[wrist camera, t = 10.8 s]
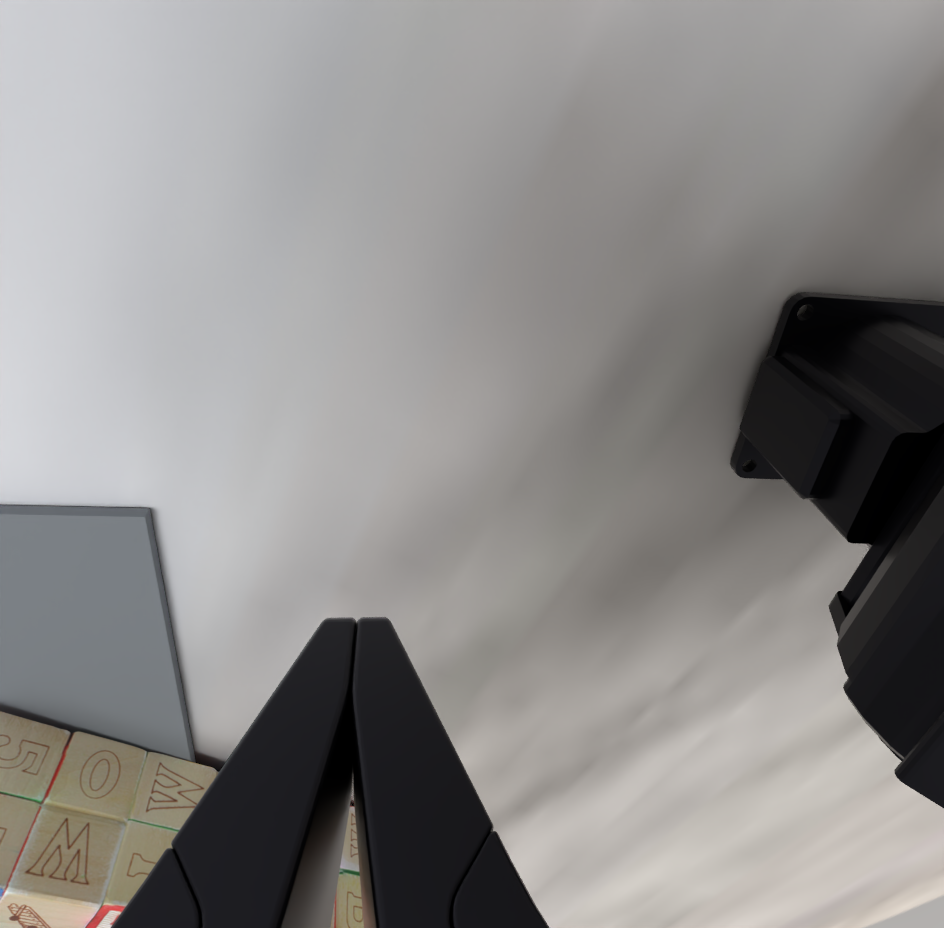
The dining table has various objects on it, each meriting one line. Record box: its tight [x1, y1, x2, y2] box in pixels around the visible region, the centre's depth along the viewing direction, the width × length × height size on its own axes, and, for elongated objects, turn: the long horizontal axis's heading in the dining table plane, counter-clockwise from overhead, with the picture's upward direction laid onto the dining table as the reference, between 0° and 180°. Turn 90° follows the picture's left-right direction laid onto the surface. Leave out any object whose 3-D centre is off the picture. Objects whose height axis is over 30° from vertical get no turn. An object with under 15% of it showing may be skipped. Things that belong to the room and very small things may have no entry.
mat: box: [0, 505, 196, 763], centre depth 27 cm, size 12×23×1 cm, turn 174°
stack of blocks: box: [0, 711, 364, 928], centre depth 29 cm, size 21×6×12 cm
